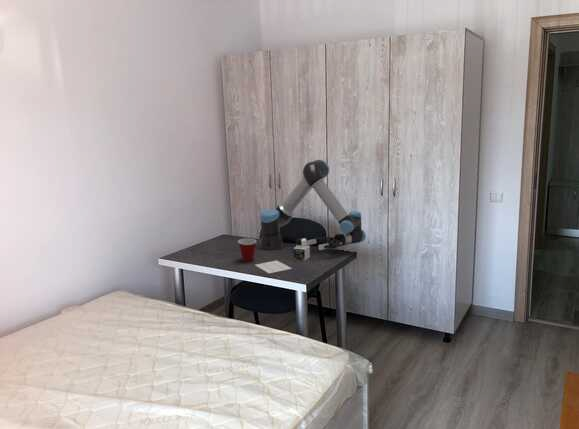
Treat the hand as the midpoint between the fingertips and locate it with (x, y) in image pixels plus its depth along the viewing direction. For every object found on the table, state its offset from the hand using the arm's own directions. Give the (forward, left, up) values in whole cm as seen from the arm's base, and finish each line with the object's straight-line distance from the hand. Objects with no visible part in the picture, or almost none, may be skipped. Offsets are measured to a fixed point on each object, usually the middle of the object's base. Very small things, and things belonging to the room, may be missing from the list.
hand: (312, 245), depth 278 cm
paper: (+4, -28, -7) cm, 29 cm away
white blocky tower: (0, -7, -7) cm, 10 cm away
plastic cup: (-16, -34, -7) cm, 39 cm away
